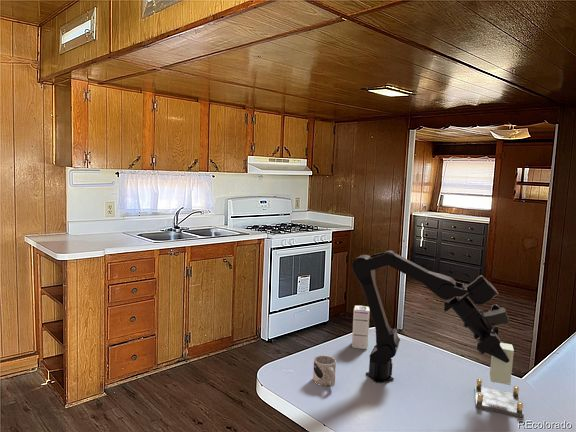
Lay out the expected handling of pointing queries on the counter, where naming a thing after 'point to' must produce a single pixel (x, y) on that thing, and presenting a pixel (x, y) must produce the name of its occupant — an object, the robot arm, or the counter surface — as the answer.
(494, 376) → the sage block
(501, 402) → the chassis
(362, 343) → the syrup box
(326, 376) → the mug
